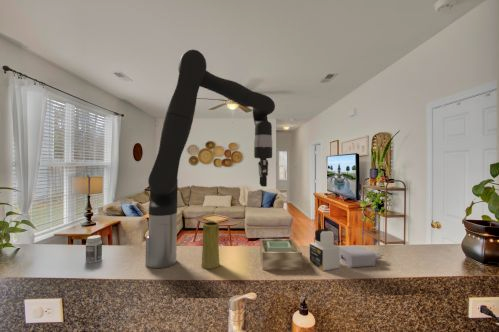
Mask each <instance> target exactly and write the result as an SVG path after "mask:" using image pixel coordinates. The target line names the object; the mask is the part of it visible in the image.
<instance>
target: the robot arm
mask: <svg viewBox="0 0 499 332" xmlns="http://www.w3.org/2000/svg"><path fill="white" fill-rule="evenodd" d="M177 70H178V77H177V83H176V86H175V89H174V92H173V94H172V96H171V99H170V101H169V103H168V106H167V110H166V113H165V116H164V121H163V125H162V128H161V129H162V130H161V134H160V140H159V141H160V142H159V147H158V153H157V154H156V158H155V161H154V164H153V166H152V169H151V170H150V173H149V176H148V180H147V183H148V186H149V189H150V190H149V192H150V193H149V195H150V196H149V204H148V235H147V236H146V238H145V267H150V268H153V269H164V268H167V267H171V266H173V265H174V264H176V262H177V249H178V248H177V247H178V245H177V244H178V243H177V238H178V237H177V236H178V185H179V184H178V181H179V180H178V175H179V167H180V161H181V157H182V154H183V151H184V149H185V148H186V145H187V142H188V139H189V137H190V133H191V130H192V125H193V121H194V116H195V112H196V107H197V106H196V105H197V98H198V94H199V93H198V92H199V89H200V87H201V88H203V89H206V90H208V91H210V92H214V93H215V94H219V95H221V96H223V97H224V98H227V99H228V100H230V101H232V102H234V103H236V104H238V105H240V106H242V107H245V108H249V107H251V108H252V117H253V123H254V143H253V145H254V146H253V147H254V148H253V149H254V150H253V156H254V157H253V158H255V159H259V161H258V163H257V165H258V176H259V185H260V186H261V187H267V185H268V182H267V180H268V175H269V173H268V172H269V162H268V161H269V160H268V159H272V158H273V137H272V135H273V126H272V123H271V122H270V121H269V120H268V115H271V114H273V112H275V109H276V105H275V101H274V100H273V99H272V98H271V97H270V96H268V95H265V94H263V93H260V92H257V91H253V90H251V89H250V88H248V87H246V86H244V85H243V84H241V83H238V82H237V81H234V80H231V79H226V78H222V77H219V76H217V75H215V74H213V73H211V72H210V71H208V70H207V61H206V58H205V56H204V54H203V53H201V52H200V51H199V50H197V49H188V50H186V51H185V52H184V53H183V54H182V55H181V57H180V59H179V63H178V69H177Z"/></svg>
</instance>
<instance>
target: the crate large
mask: <svg viewBox="0 0 499 332" xmlns="http://www.w3.org/2000/svg"><path fill="white" fill-rule="evenodd" d="M267 242H289V244H290V245H291V247H292V252H267ZM259 257H260V262H261V268H262V271H265V270H266V271H267V270H270V271H271V270H273V271H274V270H276V271H277V270H280V271H281V270H283V271H284V270H285V271H286V270H288V271H289V270H290V271H291V270H295V271H298V270H303V252H302V250H301V249H300V247H299V246H298V244H297V242H296V241H295V240H294V239H293V238H259Z"/></svg>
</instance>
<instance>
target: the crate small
mask: <svg viewBox="0 0 499 332" xmlns="http://www.w3.org/2000/svg"><path fill="white" fill-rule="evenodd" d="M267 252H292V247H291V245H290V244H289V242H267Z"/></svg>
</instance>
